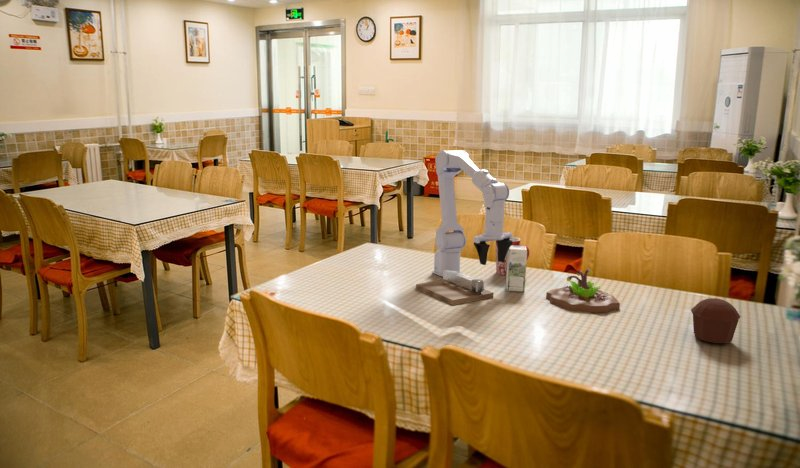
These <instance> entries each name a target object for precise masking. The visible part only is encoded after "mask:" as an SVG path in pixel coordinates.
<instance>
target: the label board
mask: <svg viewBox="0 0 800 468" xmlns="http://www.w3.org/2000/svg"><path fill="white" fill-rule="evenodd" d="M415 289H416V290H418V291H420V292H423V293H425V294H426V295H429V296H432V297H434V298H437V300H441V301H443V302H444V303H448V304H450V305H452V306H455V305H461V304H465V303H469V302H476V301H477V302H478V301H481V300H486V299H491V298H494V292H493V291H489V290H487V289H485V288H484V291H483V292H473V291H471V290H470V289H467V288H465V287H462V286H460V285H457V284H455V283H452V282H449V281H447V280H444V279H440V280H433V281H427V282H421V283H416V284H415Z"/></svg>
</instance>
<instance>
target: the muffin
mask: <svg viewBox="0 0 800 468" xmlns="http://www.w3.org/2000/svg"><path fill="white" fill-rule="evenodd" d="M690 312H691V314H692V324H693V325H692V326H693V327H692V328H693V334H694V337H695V338H697V339H699V340H702V341H703V342H709V343H713V344H727V343H732V341H733V338H734V336H735V332H736V329H737V326H738V323H739V319H740V318H741V315H740V314H739V311H738V310H737V309H736V308H735V306H734V305H732V304H731V303H730V302H728V301H727V300H725V299H724V300H723V299H720V298H714V297H711V298H704V299H702V300H700V301H699V302H698V303H696V304H695V305H694V306H693V307H692V308H691V309H690Z"/></svg>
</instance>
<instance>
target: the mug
mask: <svg viewBox="0 0 800 468" xmlns="http://www.w3.org/2000/svg"><path fill="white" fill-rule="evenodd" d="M510 240H511V241H512V245H511V246H525V247H526V249H527V260H528V259H529V257H530V249H529V247H528V246H527V245H524V244H522V245H520V244H521V243H520V242H521V238H520V237H516V236H512V239H510ZM507 256H508V251H507V254H506V257H505V260H504V262H500V261H498V246H497V241H495V266H496V267H495V269H496V270H495V272H496V274H497V275H499V276H504V277H506V274H507Z"/></svg>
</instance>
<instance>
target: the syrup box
mask: <svg viewBox="0 0 800 468" xmlns="http://www.w3.org/2000/svg"><path fill="white" fill-rule="evenodd" d="M525 246H526V245H525ZM525 246H510V248H509V249H508V256H507V274H506V276H505V277H506V278H505V279H506V280H505V289H506V290H507V291H506V292H513V293H514V292H516V293H525V292H526V291H525V290H526V289H525V288H526V272H527V261H528V259H527V249H526V247H525Z"/></svg>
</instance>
